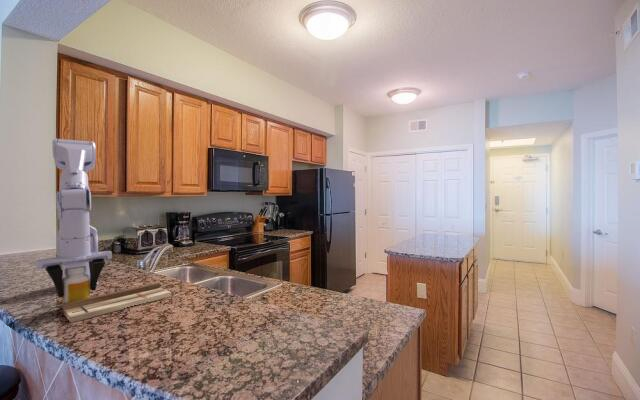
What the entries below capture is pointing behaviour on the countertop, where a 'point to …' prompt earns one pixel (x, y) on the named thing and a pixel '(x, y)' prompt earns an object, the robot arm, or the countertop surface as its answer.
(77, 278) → the supplement bottle
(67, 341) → the countertop surface
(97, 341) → the countertop surface
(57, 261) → the robot arm
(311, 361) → the countertop surface
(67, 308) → the board
